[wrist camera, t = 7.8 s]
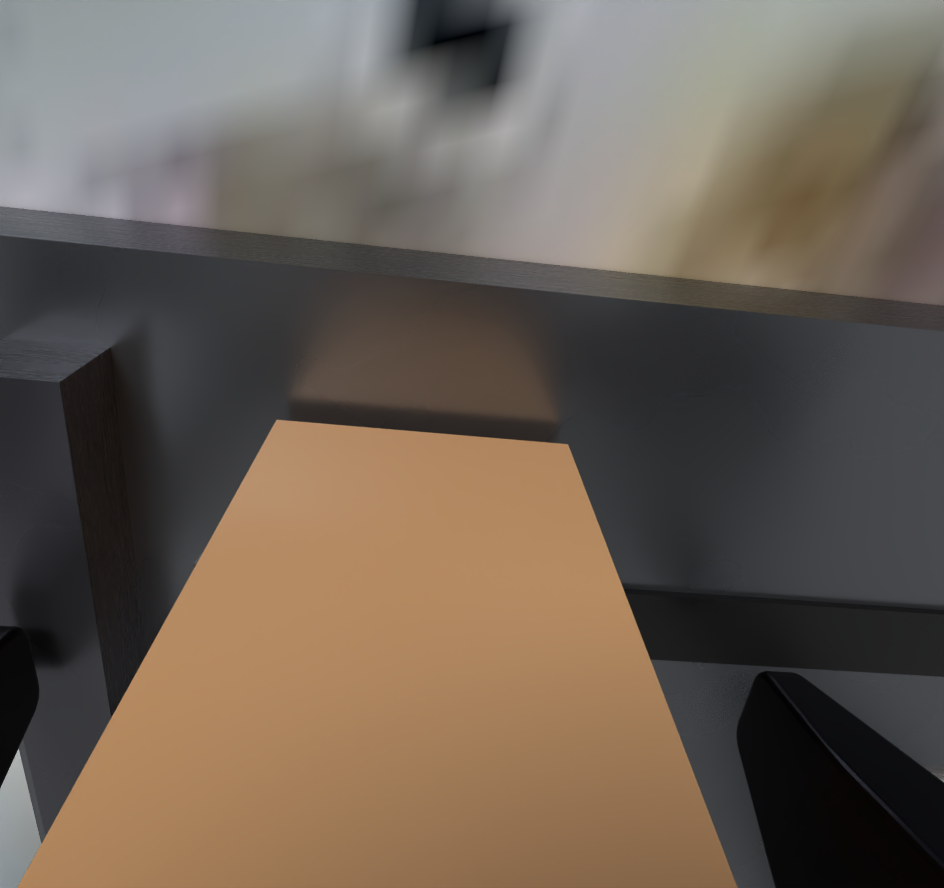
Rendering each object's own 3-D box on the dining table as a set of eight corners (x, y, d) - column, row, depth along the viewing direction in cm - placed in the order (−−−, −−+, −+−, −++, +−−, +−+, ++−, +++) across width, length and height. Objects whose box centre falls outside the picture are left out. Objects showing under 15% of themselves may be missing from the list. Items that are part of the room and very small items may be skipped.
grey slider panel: (906, 1061, 17) (978, 1209, 14) (142, 1053, 15) (90, 1216, 13) (1416, 355, 9) (1738, 433, 7) (-9, 206, 8) (-197, 241, 5)
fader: (505, 776, 9) (568, 1436, 5) (280, 766, 9) (108, 1452, 4) (568, 444, 7) (794, 1043, 3) (276, 419, 7) (-62, 1031, 2)
